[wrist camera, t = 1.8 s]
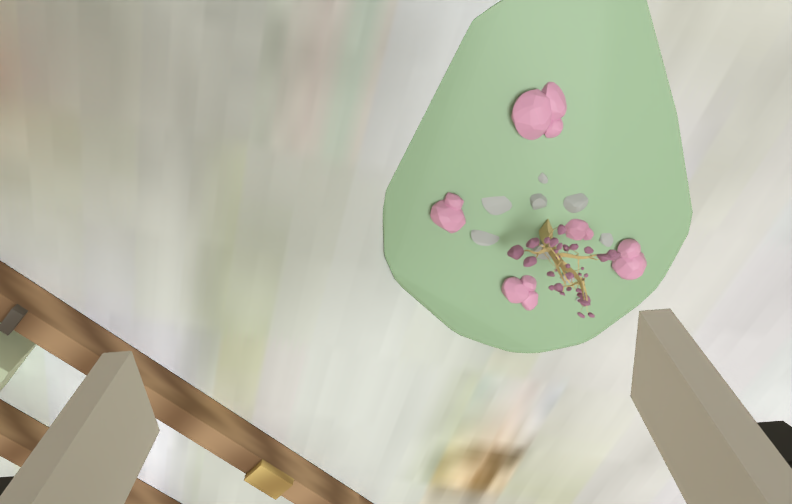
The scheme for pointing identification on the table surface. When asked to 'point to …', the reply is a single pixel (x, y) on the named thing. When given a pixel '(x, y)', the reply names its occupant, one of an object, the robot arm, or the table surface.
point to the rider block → (12, 354)
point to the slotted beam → (152, 404)
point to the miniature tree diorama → (542, 177)
